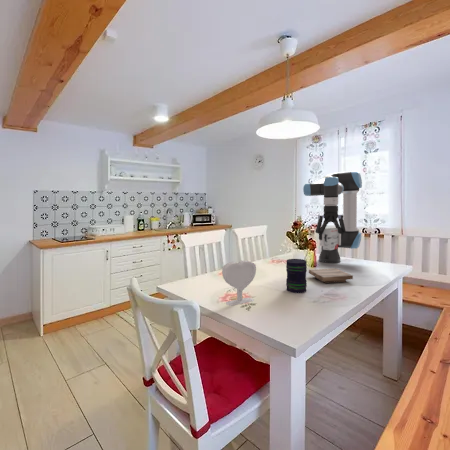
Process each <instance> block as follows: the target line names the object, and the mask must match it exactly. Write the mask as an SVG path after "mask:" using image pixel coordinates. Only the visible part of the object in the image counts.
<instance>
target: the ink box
mask: <svg viewBox="0 0 450 450" xmlns="http://www.w3.org/2000/svg"><path fill="white" fill-rule="evenodd" d="M323 234H324V246H323V250H334V249H338V250H339V248H338V228H336V227H328V228H327V227H326V228H325V230H324V232H323Z"/></svg>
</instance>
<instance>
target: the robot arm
mask: <svg viewBox="0 0 450 450" xmlns="http://www.w3.org/2000/svg"><path fill="white" fill-rule="evenodd" d="M362 187H363V180H362V175H361V173H360V172H359V171H356V170H354V171H353V170H351V171H343V172H342V171H341V172H333V173H329V174H327V175H326V176H325V175H324V176H323V177H322V178H321V179H319V180H318V181H314V182H312V183H305V184H304V185H303V188H302V190H303V191H302V192H303V195H304V196H306V197H307V196H308V197H311V196H312V197H313V196H314V197H315V196H323V205H324V206H323V214H322V215H320V214H319V215H318V216H317V219H318V220H317V224H316V226H315V227H316V228H315V233H316V234H318V240H319V246H320V247H321V248H320V253H319V256H318V261H319V262H321V263H329V264H331V263H332V264H334V263H341V255H340V252H339V249H340V248H341V249H353V250H355V249H358V248H359V247H360V246H361V241H362V232H361V231H360V230H359V228H358V227H357V225H358V224H357V217H358V216H357V213H358V212H357V209H358V208H357V205H358V204H357V202H358V201H357V200H358V197H357V195H358V193H359V192H360V189H362ZM341 194H343V199H342V201H343V204H342V205H343V206H342V209H343V211H342V212H343V213H342V214H338V213H339V206H338V204H339V195H341ZM329 223H333V224H334V226H335V227H334V228H338V249H334V250H323V246H324V234H323V232H324V230H325V229H326V228H327V225H328V224H329Z"/></svg>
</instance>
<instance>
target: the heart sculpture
mask: <svg viewBox="0 0 450 450" xmlns="http://www.w3.org/2000/svg"><path fill="white" fill-rule="evenodd" d="M256 266H257V265H256V264H255V263H254V262H252V261H248V260H244V259H243V260H240V261H238V262H235V261H231V262H228V263H225V264H224V265H223V266H222V270H221V272H222V278H223V280H224V281H225V283H226V284H228V285H229V286H231V287H232V288H234V289H236V299H234V300H229V301H226V302H225V304H226V305H227V306H229V307H230V306H233V307H234V306H237V305H241V304H246V303H250V302H254V299H253V298H251V297H243V290H245V289H246V288H247V287H248V286H249V285H250V284H251V283H252V282H253V281H254V279H255V276H256V273H257V267H256Z"/></svg>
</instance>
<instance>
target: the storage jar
mask: <svg viewBox="0 0 450 450" xmlns="http://www.w3.org/2000/svg"><path fill="white" fill-rule="evenodd" d="M285 267H286V284H285V285H286V291H287V292H288V293H291V294H304V293H307V286H308V284H307V272H308V271H307V269H308V265H307V260H306V259H302V258H289V259H286V266H285Z"/></svg>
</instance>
